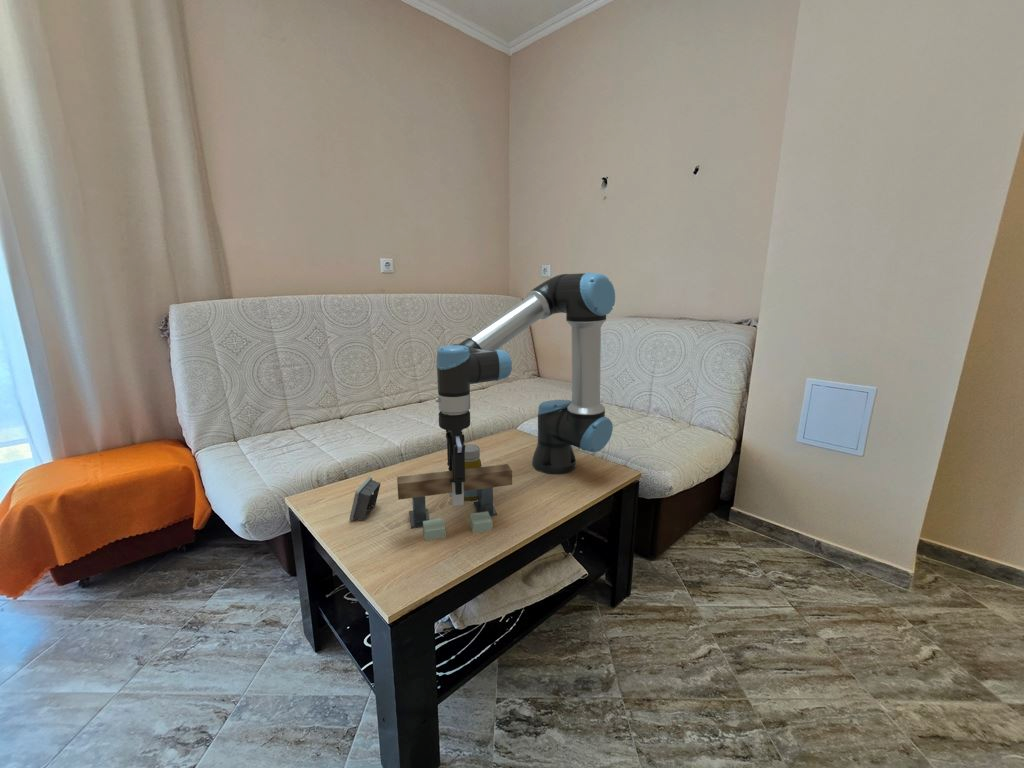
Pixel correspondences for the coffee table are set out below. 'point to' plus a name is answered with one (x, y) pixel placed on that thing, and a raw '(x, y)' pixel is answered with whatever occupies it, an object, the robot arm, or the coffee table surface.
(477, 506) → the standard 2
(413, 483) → the rail
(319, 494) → the coffee table surface
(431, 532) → the blocks
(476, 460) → the bottle
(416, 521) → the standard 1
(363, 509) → the electrical switch
